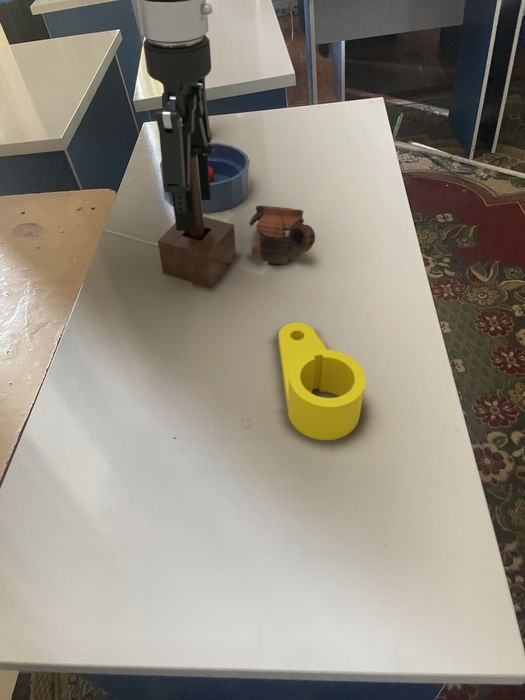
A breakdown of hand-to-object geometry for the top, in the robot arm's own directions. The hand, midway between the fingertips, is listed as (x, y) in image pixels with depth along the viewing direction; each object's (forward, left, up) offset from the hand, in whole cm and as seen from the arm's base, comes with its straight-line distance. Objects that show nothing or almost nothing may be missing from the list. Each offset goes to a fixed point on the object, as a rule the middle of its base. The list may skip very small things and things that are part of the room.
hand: (194, 213), depth 80 cm
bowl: (-9, +19, -9) cm, 23 cm away
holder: (0, 0, -9) cm, 9 cm away
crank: (+24, -15, -9) cm, 30 cm away
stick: (0, 0, -9) cm, 9 cm away
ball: (-11, +22, -8) cm, 25 cm away
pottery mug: (+10, +9, -9) cm, 16 cm away
